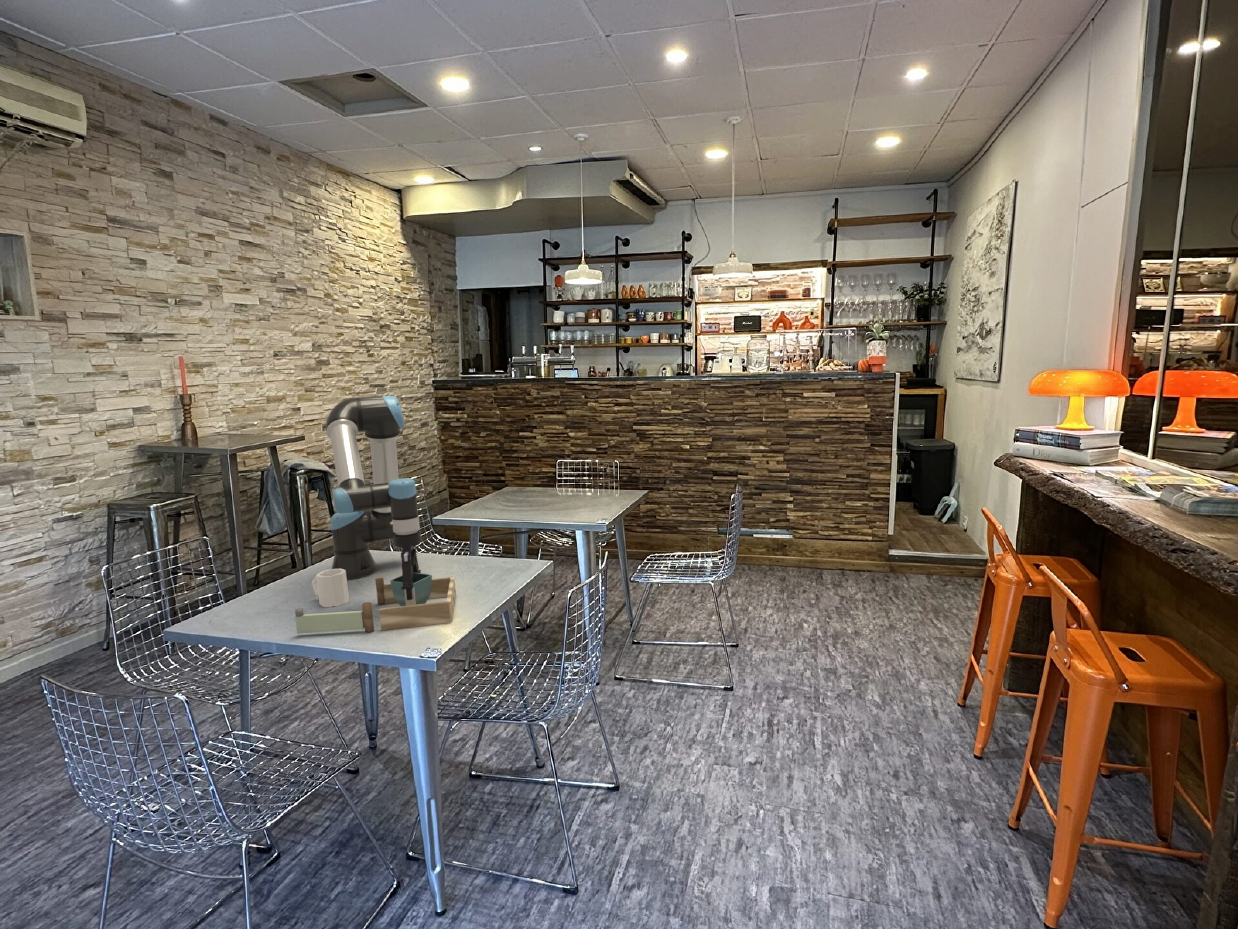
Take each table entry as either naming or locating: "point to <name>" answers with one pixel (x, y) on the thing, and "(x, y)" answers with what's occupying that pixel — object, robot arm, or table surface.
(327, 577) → the mug
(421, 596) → the flower pot
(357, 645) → the table surface
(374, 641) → the table surface
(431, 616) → the wooden u-shaped enclosure
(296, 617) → the gate
